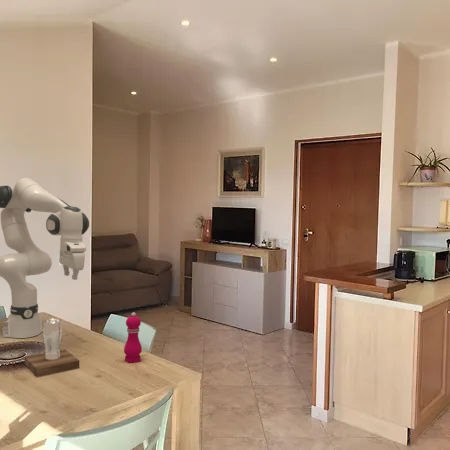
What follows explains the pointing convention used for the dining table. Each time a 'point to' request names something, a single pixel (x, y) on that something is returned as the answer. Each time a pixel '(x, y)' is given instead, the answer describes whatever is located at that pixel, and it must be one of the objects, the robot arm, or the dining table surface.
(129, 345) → the pepper mill
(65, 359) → the walnut base
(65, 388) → the dining table surface
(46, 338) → the beer glass
